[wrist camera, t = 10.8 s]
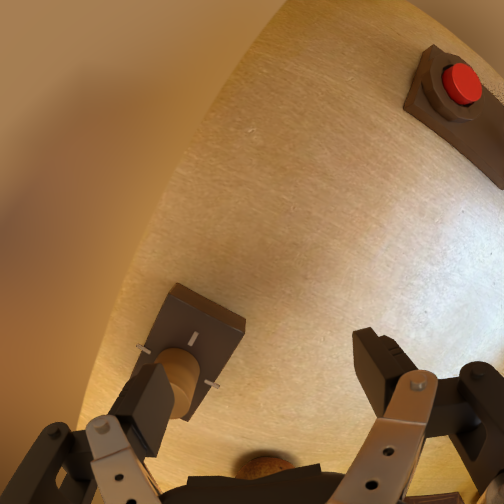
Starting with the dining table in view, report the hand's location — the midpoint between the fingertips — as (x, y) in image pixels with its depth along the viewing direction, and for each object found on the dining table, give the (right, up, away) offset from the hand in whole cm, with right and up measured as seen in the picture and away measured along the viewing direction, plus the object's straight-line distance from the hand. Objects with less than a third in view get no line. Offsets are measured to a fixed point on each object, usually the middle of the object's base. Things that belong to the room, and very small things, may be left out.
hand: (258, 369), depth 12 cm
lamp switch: (+18, +19, +7) cm, 27 cm away
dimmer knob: (-7, -5, +13) cm, 16 cm away
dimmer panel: (-7, -5, +16) cm, 18 cm away
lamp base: (+22, +18, +11) cm, 31 cm away
